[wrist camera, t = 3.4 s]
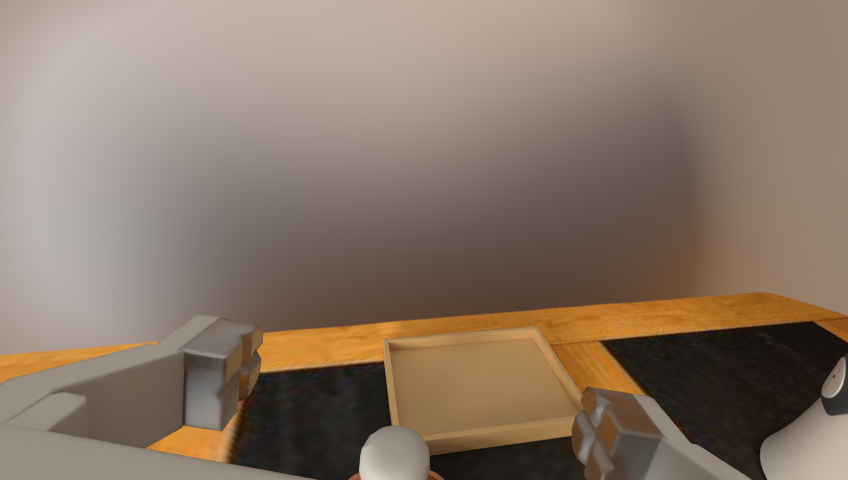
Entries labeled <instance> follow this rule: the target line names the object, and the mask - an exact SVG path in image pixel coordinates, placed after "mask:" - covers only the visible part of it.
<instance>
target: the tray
mask: <svg viewBox="0 0 848 480" xmlns="http://www.w3.org/2000/svg"><path fill="white" fill-rule="evenodd" d="M383 355H384V363H385V372H386V381H387V389H388V398H389V406H390V415H391V423H392V426H393V425H399V426H404V427H410V428H411V429H413V430H414V431H415V432H417V433H418V434H420V435H421V436H422V438H423V440H424V441H425V443H426V445H427V446H428V450H429V456H432V455H439V454H446V453H453V452H460V451H467V450H474V449H481V448H488V447H495V446H503V445H510V444H517V443H524V442H531V441H538V440H545V439H552V438H559V437H566V436H572V426H573V422H574V419H575V416H576V415H578V414H579V413H580V412H582V411H583V410H584V409H583V407H582V404H581V402H580V400H581V398H582V393H581V392H580V390H579V389H578V387H577V386H576V384H575V383H574V381H573V380H572V378H571V377H570V375H569V374H568V372H567V371H566V369H565V368H564V366H563V365H562V363H561V362H560V360H559V359H558V357H557V356H556V354H555V353H554V351H553V350H552V348H551V347H550V345H549V344H548V342H547V341H546V339H545V338H544V336H543V335H542V333H541V332H540V330H539V329H538V327H537V326H533V327H520V328H509V329H497V330H485V331H474V332H462V333H451V334H439V335H428V336H416V337H405V338H393V339H383Z"/></svg>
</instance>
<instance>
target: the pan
mask: <svg viewBox="0 0 848 480" xmlns="http://www.w3.org/2000/svg"><path fill="white" fill-rule="evenodd" d="M349 480H361V478H360V472H359V473H357V474H355V475H353V476H352V477H351V478H350V479H349ZM427 480H444V479H443V478H442V477H441V476H440V475H438V474H437V473H435V472H433V471H431V470H430V472H429V476H428V479H427Z"/></svg>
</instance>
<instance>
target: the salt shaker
mask: <svg viewBox="0 0 848 480" xmlns="http://www.w3.org/2000/svg"><path fill="white" fill-rule="evenodd" d="M359 472H360V478H361V480H427V479H428V476H429V472H430V458H429V450H428V446H427V445H426V443H425V441H424V440H423V438H422V436H421V435H420V434H418V433H417V432H415V431H414V430H413V429H411V428H410V427H404V426H399V425H393V426H388V427H383V428H381V429H379V430H378V431H376V432H375V433H374V434H372V435H371V436H370V437H369V438H368V440H367V441H366V443H365V445H364V446H363V448H362V451H361V456H360V467H359Z"/></svg>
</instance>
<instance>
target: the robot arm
mask: <svg viewBox="0 0 848 480" xmlns="http://www.w3.org/2000/svg"><path fill="white" fill-rule="evenodd" d="M262 343H263V329H262V327H261V326H257V325H253V324H248V323H243V322H238V321H233V320H228V319H223V318H220V317H214V316H208V315H196V316H195V317H194V318H193V319H191V320H189V321H188V322H187V323H185V324H184V325H182V326H181V327H180V328H178V329H177V330H175V331H174V332H173V333H171V334H170V335H168V336H167V337H166V338H164V339H163V340H161V341H160V342H159V343H157V344H156V345H148V344H147V345H143V346H139V347H135V348H131V349H127V350H123V351H119V352H115V353H111V354H107V355H103V356H99V357H95V358H91V359H87V360H83V361H79V362H75V363H71V364H67V365H63V366H59V367H55V368H51V369H47V370H44V371H40V372H36V373H32V374H28V375H24V376H20V377H16V378H12V379H8V380H6V381H4V382H2V383H0V480H316V479H310V478H305V477H299V476H294V475H288V474H282V473H277V472H271V471H266V470H260V469H255V468H249V467H244V466H238V465H233V464H227V463H222V462H216V461H210V460H205V459H199V458H194V457H188V456H183V455H177V454H172V453H166V452H161V451H155V450H150V449H145V448H146V447H148V446H150V445H152V444H154V443H155V442H157V441H159V440H161V439H163V438H164V437H166V436H168V435H170V434H172V433H173V432H175V431H177V430H179V429H181V428H182V425H183V426H190V427H196V428H203V429H210V430H216V431H223V429H224V428H225V427H226V425H227V424H228V423H229V421H230V420H231V419H232V417H233V416H234V415H235V413H236V412H237V411H238V402H239V401H241V400H243V399H246V398H247V397H248V396H249V394H250V393H251V392H252V390H253V388H254V386H255V384H256V381H257V379H258V376H259V372H260V367H261V358H260V356H259V354H258V353H257V351H256V350H257V349H258V348H259V347H260V345H261V344H262ZM580 402H581V404H582V407H583V409H584V410H583V411H582V412H580V413H579V414H578V415H576V416H575V419H574V422H573V426H572V438H571V440H572V445H573V450H574V452H575V455H576V457H577V458H578V459H579V460H580V461H581V462H582V463H583V464H584V465H585V466H586V468H585V471H584V476H585V478H586V480H751V479H750V478H748V477H747V476H745V475H744V474H742V473H740V472H739V471H737V470H736V469H734V468H733V467H731V466H730V465H728V464H726V463H725V462H723V461H722V460H720V459H719V458H717V457H715V456H714V455H712V454H711V453H709V452H708V451H706V450H705V449H703V448H701V447H700V446H698V445H695V444H691V443H690V442H689V441H688V440H687V438H686V437H685V436H684V435H683V434H682V433H681V431H680V430H679V429H678V428H677V427H676V425H675V424H674V423H673V422H672V421H671V419H670V418H669V417H668V416H667V415H666V413H665V412H664V411H663V410H662V409H661V407H660V406H659V405H658V404H657V403H656V401H655V400H654V399H652V398H650V397H649V396H644V395H637V394H630V393H624V392H617V391H611V390H605V389H598V388H591V387H587V388H586V389H585V391H584V392H583V395H582V398H581V400H580ZM760 460H761V465H762V468H763V471H764V474H765V476H766V478H767V480H848V353H847V354H846V355H845V357H842V358H841V359H840V360H839V362H838V363H837V365H836V366H835V367H834V369H833V370H832V372H831V373H830V375H829V376H828V378H827V379H826V381H825V383H824V385H823V387H822V391H821V397H820V398H819V399H818V400H817V401H816V402H815V403H814V404H813V405H812V406H811V407H810V408H809V409H807V410H806V411H805V412H804V413H803V414H802V415H801V416H800V417H798V418H797V419H796V420H795V421H793V422H792V423H791V424H789V425H788V426H786V427H785V428H783V429H782V430H780V431H778V432H776V433H774V434H772V435H770V436H769V437H767V438H766V439H765V441H764V442H763V444H762V446H761V449H760Z"/></svg>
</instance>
